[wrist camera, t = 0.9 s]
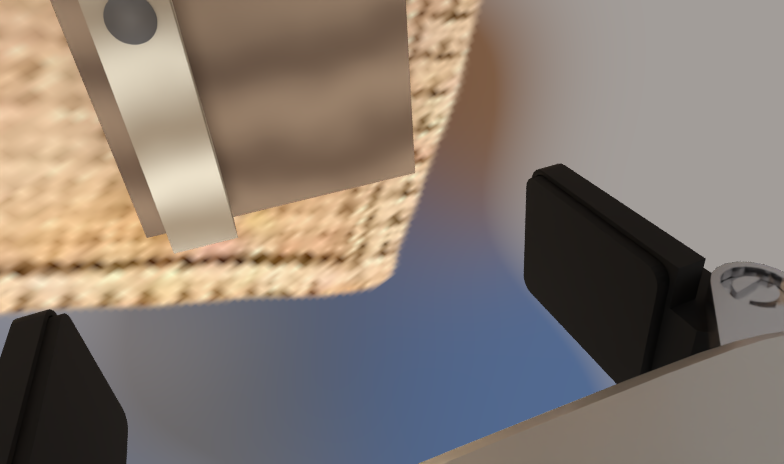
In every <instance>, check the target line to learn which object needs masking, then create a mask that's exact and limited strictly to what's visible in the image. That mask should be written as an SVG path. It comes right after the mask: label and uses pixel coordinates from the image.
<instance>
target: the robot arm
mask: <svg viewBox="0 0 784 464" xmlns="http://www.w3.org/2000/svg"><path fill="white" fill-rule="evenodd" d="M704 263H705V258H704V257H702V256H701V255H699V254H698V253H696V252H695V251H693V250H692V249H690V248H689V247H687V246H686V245H684V244H683V243H681V242H680V241H678V240H676V239H675V238H674V237H672V236H671V235H669V234H668V233H666V232H664V231H663V230H661V229H660V228H659V227H657V226H656V225H654V224H653V223H651V222H649V221H648V220H646V219H645V218H643V217H642V216H640V215H639V214H637V213H636V212H634V211H633V210H631V209H630V208H628V207H627V206H625V205H624V204H622V203H620V202H619V201H618V200H616V199H615V198H613V197H612V196H610V195H609V194H607V193H606V192H604V191H603V190H601V189H600V188H598V187H597V186H595V185H594V184H592V183H591V182H589V181H588V180H586V179H585V178H583V177H582V176H580V175H579V174H577V173H575V172H574V171H573V170H571V169H570V168H568V167H566V166H565V165H563V164H556V165H552V166H549V167H545V168H542V169H538V170H536V171H535V172H534V173H533V175H532V178H531V179H529V180H528V182H527V186H526V218H525V252H524V280H525V284H526V286H527V288H528V290H529V291H530V292H531V293H532V294H533V296H534V297H535V298H536V299H537V300H538V301H539V302H540V303H541V304H542V305H543V306H544V307H545V308H546V309H547V310H548V311H549V312H550V314H551V315H552V316H553V317H554V318H555V319H556V320H557V321H558V322H559V323H560V324H561V325H562V326H563V327H564V328H565V330H567V332H568V333H569V334H570V335H571V336H572V337H573V338H574V339H575V340H576V341H577V342H578V343H579V344H580V345H581V347H582V348H583V349H584V350H585V351H586V352H587V353H588V354H589V355H590V356H591V357H592V358H593V359H594V360H595V361H596V362H597V363H598V365H599V366H600V367H601V368H602V369H603V370H604V371H605V372H606V373H607V374H608V375H609V376H610V377H611V378H612V379H613V380H614V381H615V383H616V385H614V386H611V387H609V388H606V389H604V390H601V391H599V392H596V393H594V394H591V395H589V396H586V397H584V398H581V399H578V400H576V401H574V402H571V403H568V404H566V405H564V406H561V407H558V408H556V409H553V410H551V411H548V412H546V413H543V414H541V415H538V416H536V417H533V418H531V419H528V420H526V421H523V422H521V423H518V424H516V425H513V426H511V427H508V428H506V429H503V430H501V431H498V432H496V433H493V434H491V435H488V436H486V437H484V438H481V439H479V440H476V441H473V442H471V443H468V444H466V445H464V446H461V447H459V448H456V449H453V450H451V451H449V452H446V453H444V454H441V455H439V456H436V457H434V458H431V459H429V460H426V461H424V462H421V463H419V464H784V272H783V271H781V270H779V269H776V268H773V267H770V266H767V265H764V264H758V263H754V262H732V263H726V264H723V265H721V266H719V267H717V268H716V269H715V270H714V271H713V272H712V273H711V272H709V271H708V270H706V269H705V268H703V267H704ZM127 438H128V425H127V419H126V416H125V413H124V411H123V409H122V407H121V405H120V403H119V402H118V400H117V398H116V396H115V395H114V393H113V391H112V389H111V388H110V386H109V384H108V382H107V381H106V379H105V377H104V376H103V374H102V372H101V370H100V369H99V367H98V365H97V363H96V362H95V360H94V358H93V356H92V355H91V353H90V351H89V350H88V348H87V346H86V344H85V343H84V341H83V339H82V337H81V336H80V334H79V332H78V330H77V329H76V327H75V325H74V323H73V322H72V320H71V319H70V317H69V316H68V315H67V314H65V313H64V314H60V315H57V314H56V313H55V312H54V311H53V310H50V309H49V310H45V311H42V312H38V313H35V314H31V315H28V316H24V317H21V318H17V319H15V320H13V322H12V324H11V327H10V330H9V333H8V336H7V339H6V342H5V345H4V348H3V351H2V354H1V357H0V464H126V459H127V458H126V457H127Z"/></svg>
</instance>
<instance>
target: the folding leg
mask: <svg viewBox="0 0 784 464" xmlns="http://www.w3.org/2000/svg"><path fill="white" fill-rule="evenodd" d="M78 2H79V4H80V7H81V9H82V12H83V15H84V17H85V20H86V23H87V25H88V28H89V31H90V33H91V36H92V38H93V41H94V44H95V46H96V49H97V52H98V54H99V57H100V60H101V62H102V65H103V67H104V70H105V73H106V75H107V78H108V81H109V83H110V86H111V89H112V91H113V94H114V96H115V99H116V102H117V104H118V107H119V110H120V112H121V115H122V118H123V120H124V123H125V125H126V128H127V131H128V133H129V136H130V139H131V141H132V144H133V147H134V149H135V152H136V154H137V157H138V160H139V162H140V165H141V168H142V170H143V173H144V175H145V178H146V181H147V183H148V186H149V189H150V191H151V194H152V197H153V199H154V202H155V204H156V207H157V210H158V212H159V215H160V218H161V220H162V223H163V226H164V228H165V231H166V233H167V236H168V239H169V241H170V244H171V247H172V249H173V252H174V253H178V252H182V251H186V250H190V249H194V248H198V247H202V246H206V245H210V244H214V243H218V242H222V241H226V240H230V239H234V238H238V236H237V232H236V227H235V223H234V218H233V214H232V209H231V205H230V202H229V198H228V195H227V191H226V188H225V184H224V181H223V177H222V174H221V170H220V167H219V163H218V160H217V156H216V153H215V149H214V146H213V142H212V139H211V135H210V132H209V128H208V125H207V121H206V118H205V114H204V111H203V107H202V104H201V100H200V97H199V93H198V90H197V86H196V83H195V79H194V76H193V72H192V69H191V66H190V62H189V59H188V55H187V52H186V48H185V45H184V41H183V38H182V34H181V31H180V27H179V24H178V20H177V17H176V13H175V10H174V6H173V3H172V0H78Z"/></svg>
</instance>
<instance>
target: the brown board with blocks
mask: <svg viewBox="0 0 784 464" xmlns="http://www.w3.org/2000/svg"><path fill="white" fill-rule="evenodd" d="M50 1H51V4H52V6H53V8H54V11H55V13H56V16H57V18H58V21H59V23H60V26H61V28H62V31H63V33H64V35H65V38H66V40H67V43H68V45H69V48H70V50H71V53H72V55H73V58H74V60H75V63H76V65H77V67H78V70H79V72H80V75H81V77H82V80H83V82H84V85H85V87H86V90H87V92H88V94H89V97H90V99H91V102H92V104H93V107H94V109H95V112H96V114H97V117H98V119H99V121H100V124H101V126H102V129H103V131H104V134H105V136H106V139H107V141H108V144H109V146H110V148H111V151H112V153H113V156H114V158H115V161H116V163H117V166H118V168H119V171H120V173H121V176H122V178H123V180H124V183H125V185H126V188H127V190H128V193H129V195H130V198H131V200H132V203H133V205H134V207H135V210H136V212H137V215H138V217H139V220H140V222H141V225H142V227H143V230H144V232H145V234H146V237H147V238H148V237H153V236H157V235H161V234H165V233H166V231H165V228H164V226H163V223H162V220H161V218H160V215H159V212H158V210H157V207H156V204H155V202H154V199H153V197H152V194H151V191H150V189H149V186H148V183H147V181H146V178H145V175H144V173H143V170H142V168H141V165H140V162H139V160H138V157H137V154H136V152H135V149H134V147H133V144H132V141H131V139H130V136H129V133H128V131H127V128H126V125H125V123H124V120H123V118H122V115H121V112H120V110H119V107H118V104H117V102H116V99H115V96H114V94H113V91H112V89H111V86H110V83H109V81H108V78H107V75H106V73H105V70H104V67H103V65H102V62H101V60H100V57H99V54H98V52H97V49H96V46H95V44H94V41H93V38H92V36H91V33H90V31H89V28H88V25H87V23H86V20H85V17H84V15H83V12H82V9H81V7H80V4H79V2H78V0H50ZM172 3H173V6H174V10H175V13H176V17H177V20H178V24H179V27H180V31H181V34H182V38H183V41H184V45H185V48H186V52H187V55H188V59H189V62H190V66H191V69H192V72H193V76H194V79H195V83H196V86H197V90H198V93H199V97H200V100H201V104H202V107H203V111H204V114H205V118H206V121H207V125H208V128H209V132H210V135H211V139H212V142H213V146H214V149H215V153H216V156H217V160H218V163H219V167H220V170H221V174H222V177H223V181H224V184H225V188H226V191H227V195H228V198H229V202H230V205H231V209H232V214H233V217H235V216H239V215H243V214H247V213H251V212H256V211H260V210H264V209H268V208H272V207H276V206H280V205H284V204H288V203H293V202H297V201H301V200H305V199H309V198H313V197H317V196H321V195H326V194H330V193H334V192H338V191H342V190H346V189H350V188H354V187H359V186H363V185H367V184H371V183H375V182H379V181H383V180H387V179H391V178H396V177H400V176H404V175H408V174H412V173H415V162H414V144H413V126H412V108H411V90H410V71H409V53H408V35H407V17H406V0H172Z"/></svg>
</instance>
